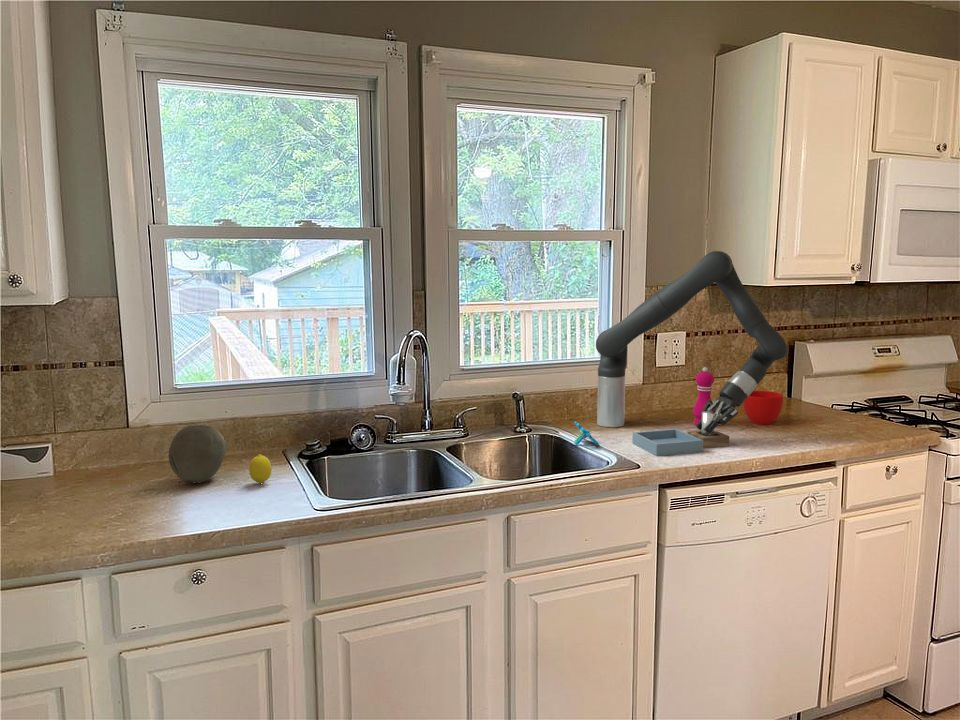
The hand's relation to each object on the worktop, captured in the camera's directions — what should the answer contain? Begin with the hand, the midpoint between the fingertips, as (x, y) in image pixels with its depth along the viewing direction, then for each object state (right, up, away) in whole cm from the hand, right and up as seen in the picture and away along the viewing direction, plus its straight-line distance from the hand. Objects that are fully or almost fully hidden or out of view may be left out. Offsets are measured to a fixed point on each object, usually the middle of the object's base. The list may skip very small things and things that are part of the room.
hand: (702, 429), depth 218 cm
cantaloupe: (-143, -11, -29) cm, 147 cm away
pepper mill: (+8, -1, +25) cm, 27 cm away
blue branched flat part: (-36, -5, +2) cm, 36 cm away
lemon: (-126, -11, -33) cm, 131 cm away
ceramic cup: (+30, 0, +29) cm, 42 cm away
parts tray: (-12, -5, -3) cm, 13 cm away
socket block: (+2, -4, +1) cm, 5 cm away
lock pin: (+2, -4, +1) cm, 5 cm away
